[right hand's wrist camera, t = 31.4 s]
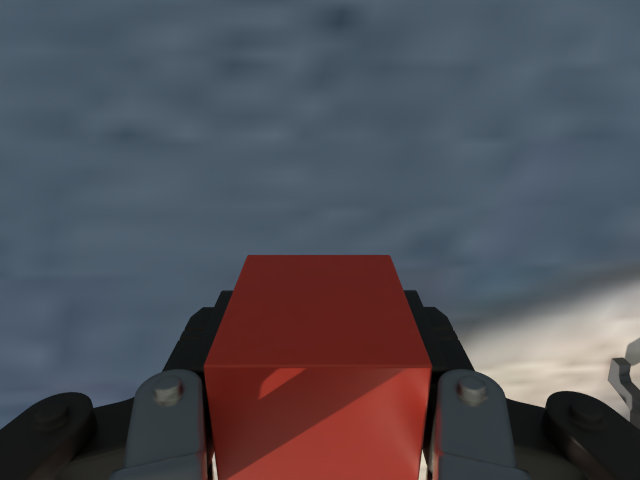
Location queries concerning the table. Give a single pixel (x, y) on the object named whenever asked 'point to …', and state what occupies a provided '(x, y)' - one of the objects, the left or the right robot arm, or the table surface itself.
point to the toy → (625, 388)
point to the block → (318, 372)
